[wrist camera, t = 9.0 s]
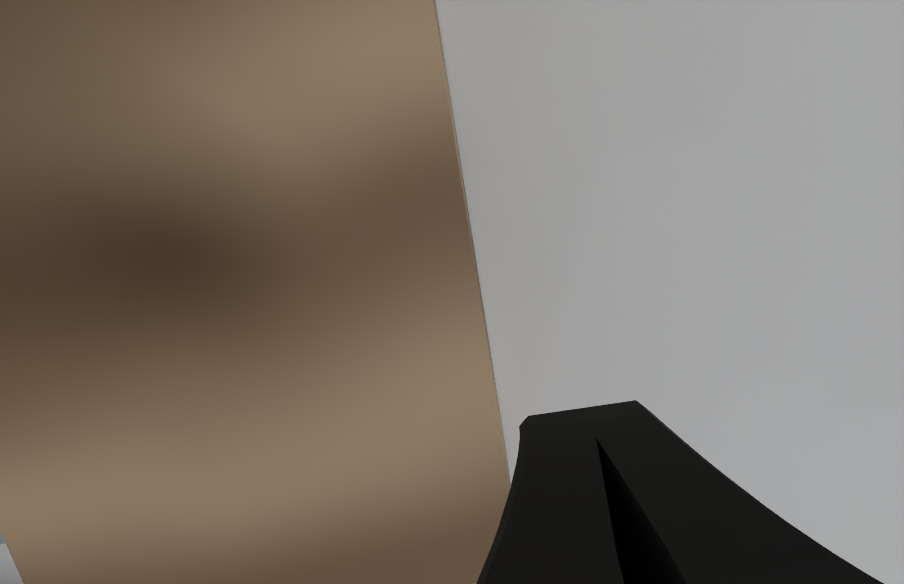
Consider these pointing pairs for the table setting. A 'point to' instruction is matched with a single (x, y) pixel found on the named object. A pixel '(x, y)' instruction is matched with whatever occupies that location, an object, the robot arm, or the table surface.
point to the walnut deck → (239, 298)
